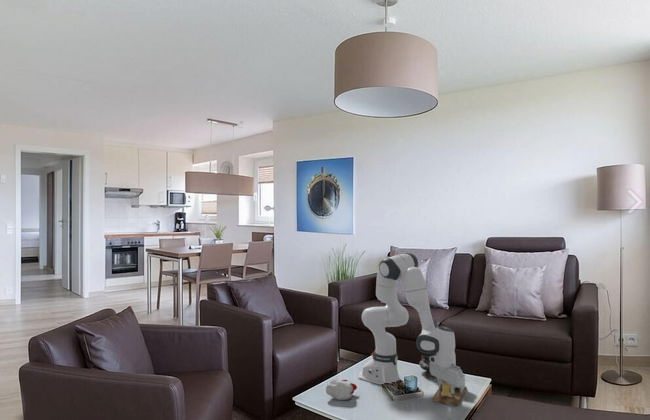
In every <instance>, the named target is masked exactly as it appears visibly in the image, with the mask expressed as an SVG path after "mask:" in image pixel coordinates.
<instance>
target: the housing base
mask: <svg viewBox="0 0 650 420" xmlns="http://www.w3.org/2000/svg"><path fill="white" fill-rule="evenodd" d="M466 391H467V386H466V385H465V388H464V390H463V392H462V393H460V388H457V387H456V388H455V389H454V393H453V394H451V396H447V395H442V388H441V389H439V388H438V389H437V390H436V392H435V393H434V395H433V396H432V398H431V402H432V403H433V402H435V403H438V404H445V405H450V406H456V407H459V405H460V403H461V400H462V399H463V397H464V395H465V393H466Z"/></svg>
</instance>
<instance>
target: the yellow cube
mask: <svg viewBox="0 0 650 420" xmlns="http://www.w3.org/2000/svg"><path fill="white" fill-rule="evenodd" d="M449 389H451V384H449V383H444V382H442V395H447V396H451V393H450V392H449Z"/></svg>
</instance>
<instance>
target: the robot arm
mask: <svg viewBox="0 0 650 420" xmlns="http://www.w3.org/2000/svg"><path fill="white" fill-rule="evenodd" d="M398 279H399V280H400V281H401V283H402V285H403V291H404V297H405V299H406V301H407V303H408V305H409V306H410V307H413V308H414V309H415V310H416V311H417V313H418V316H419V321H420V324H421V333H420V334H419V335H418V336H417V338H416V340H415V346H416V348H417V349H418V350H419V352H420V351H421V352H422V353H426V354H429V353H436V355H435V356H431V357H429V359H430V373H431V375H433V376H435V377H437V378H436V379H437V383H438V388H439V387H440V388H442V380H443V381H445V382H447V383H449V384H451V389H449V392H450V393H451V394H453V393H454V389H455V388H456V387H457V388H460V387H463V386H464V378H463V374H464V373H463V370H462V369H461V366H458V365H456V364H457V363H456V360H457V359H456V357H457V356H456V352H455V351H456V350H455V349H456V337H455V332H454V330H453V329H451V327H448V326H445V325H439V326H437V325H435V322H434V318H433V313H432V309H431V307H430V300H429V299H430V298H429V292H428V287H427V284H426V280H425V277H424V275H423V273H422V270H421V269H420V268H419V260H418V258H417V256H416V255H415V254H413V253H411V252H410V253H409V252H405V253H401V254H399V253H398V254H395V255H393V256H390V257H385V258H384V259H382V260H381V261H380V262H379V264H378V269H377V274H376V282H375V283H376V284H375V285H376V286H375V296H376V298H377V299H378V300H379V301H380V302H382V303H384V304H385V305H384V306H371V307H368V308H367V307H366V308H365V309H364V310H363V311H362V313H361V321H362V323H363V325H364V326H365V327H366V328H368V329H369V330H370V331H371V332H372V335H373V337H374V343H375V345H374V346H375V350H374V351H373V352H372V353H371V357H372V358H371V359H369V360H368V361H367V362H365V363H364V365H363V366H362V371H361V372H358V373H359V374H358V376H357V378H358V379H359V380H362V381H365V382H369V383H373V384H377V385H380V386H381V384H383V383H387V382H395V381H398V380H399V381H400V380H401V378H400V375H399V369H398V353H397V340H396V339H397V338H396V337H395V336H394V335H393V334H391V333H390V332H388V331H386V328H391V327H392V328H395V327H401V326H404V325H407V324H408V321H409V317H410V316H409V315H410V314H409V311H408V310H407V309H406V307H404V306H403V305H402V304H401V303H400V302H399V298H398ZM421 352H420V353H421ZM422 353H421V354H422ZM399 381H398V382H399ZM395 383H396V382H395ZM383 385H384V384H383Z"/></svg>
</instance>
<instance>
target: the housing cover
mask: <svg viewBox="0 0 650 420" xmlns="http://www.w3.org/2000/svg"><path fill="white" fill-rule="evenodd" d="M465 377H466V374H465V373H463V378H464V386H463V387H460V393H462V392H463V390H464V388H465V386H466V378H465ZM442 382H444V383H447V382H445V381H443V380H442ZM438 389H441V388H440V387H439V386H438Z"/></svg>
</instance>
